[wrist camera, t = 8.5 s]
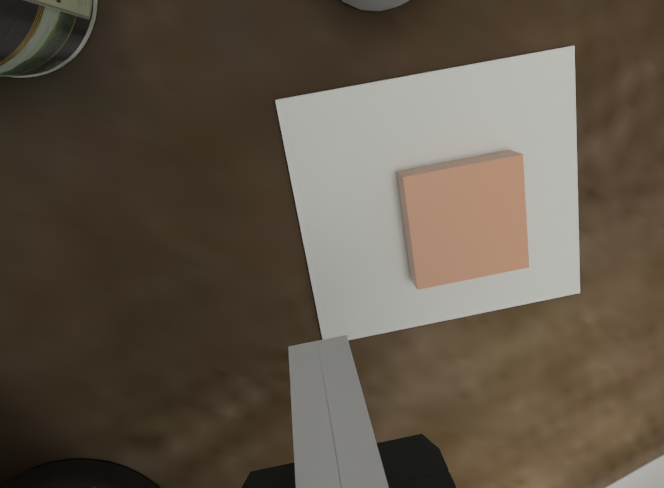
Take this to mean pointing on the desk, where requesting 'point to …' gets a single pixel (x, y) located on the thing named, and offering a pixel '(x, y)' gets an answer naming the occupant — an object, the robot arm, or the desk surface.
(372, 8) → the can
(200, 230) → the desk surface
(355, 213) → the mat
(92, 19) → the coffee can
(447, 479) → the robot arm
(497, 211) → the tile
